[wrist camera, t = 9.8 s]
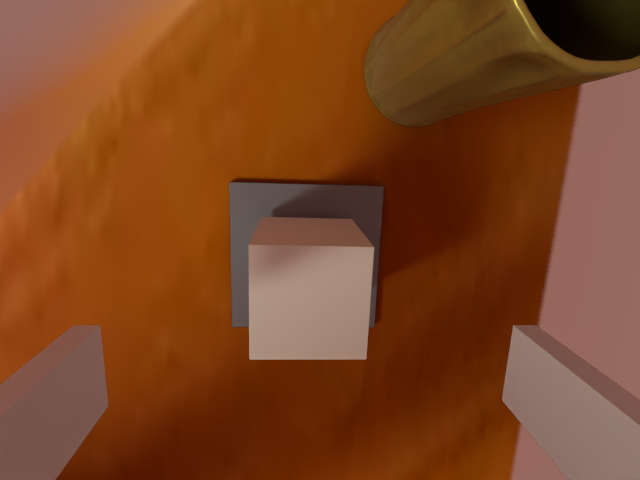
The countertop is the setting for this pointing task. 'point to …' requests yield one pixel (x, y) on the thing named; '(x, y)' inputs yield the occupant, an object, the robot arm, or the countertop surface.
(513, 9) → the vase
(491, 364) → the countertop surface
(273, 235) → the white rectangular block
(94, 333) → the robot arm
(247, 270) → the gray peg base
